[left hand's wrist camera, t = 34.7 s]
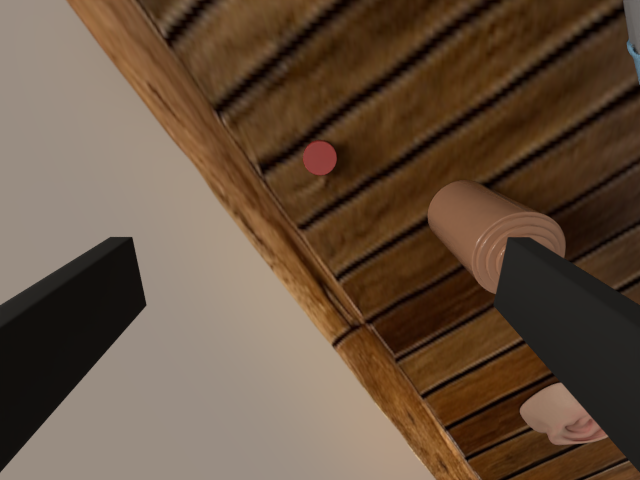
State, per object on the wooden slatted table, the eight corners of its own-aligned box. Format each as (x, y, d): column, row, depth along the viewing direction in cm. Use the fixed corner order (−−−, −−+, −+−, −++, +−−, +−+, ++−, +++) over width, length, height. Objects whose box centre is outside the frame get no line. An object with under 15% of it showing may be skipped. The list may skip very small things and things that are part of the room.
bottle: (430, 247, 46) (495, 330, 29) (424, 187, 43) (494, 239, 26) (493, 236, 45) (598, 314, 28) (492, 174, 42) (609, 219, 25)
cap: (340, 167, 42) (340, 170, 40) (308, 176, 43) (308, 179, 41) (331, 135, 41) (332, 136, 39) (299, 144, 41) (298, 146, 39)
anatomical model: (521, 441, 53) (570, 388, 49) (508, 419, 57) (553, 369, 53) (590, 466, 55) (641, 417, 51) (572, 444, 59) (620, 396, 55)
